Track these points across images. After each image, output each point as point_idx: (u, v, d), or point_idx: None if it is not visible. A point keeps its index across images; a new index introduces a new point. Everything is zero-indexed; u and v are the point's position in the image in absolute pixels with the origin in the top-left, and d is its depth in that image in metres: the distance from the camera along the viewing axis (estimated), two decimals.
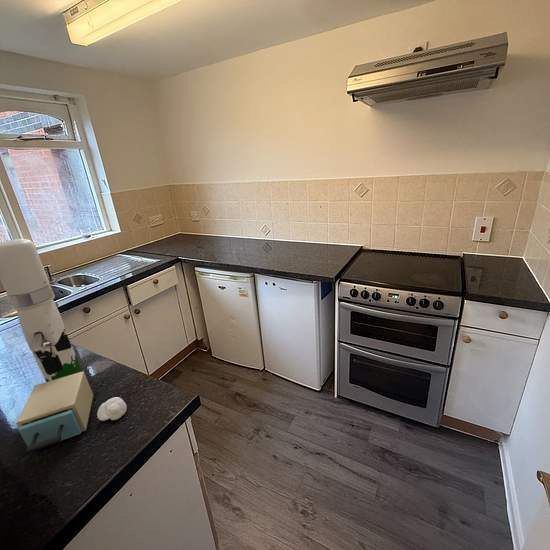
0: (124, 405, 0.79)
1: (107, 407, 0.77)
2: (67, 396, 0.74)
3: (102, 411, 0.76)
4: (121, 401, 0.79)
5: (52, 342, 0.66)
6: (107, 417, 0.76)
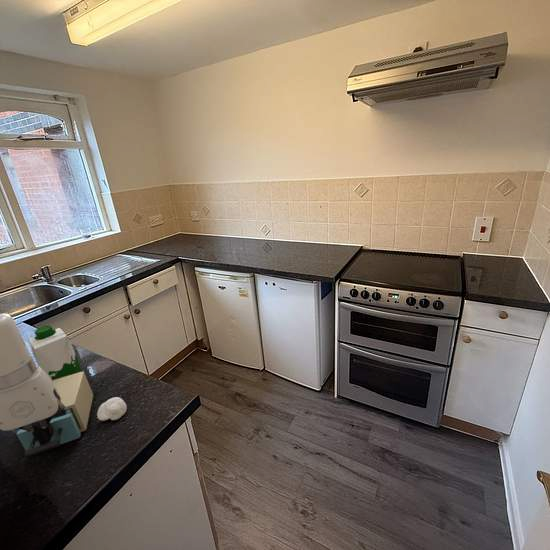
0: (124, 405, 0.79)
1: (107, 407, 0.77)
2: (67, 396, 0.74)
3: (102, 411, 0.76)
4: (121, 401, 0.79)
5: None
6: (107, 417, 0.76)
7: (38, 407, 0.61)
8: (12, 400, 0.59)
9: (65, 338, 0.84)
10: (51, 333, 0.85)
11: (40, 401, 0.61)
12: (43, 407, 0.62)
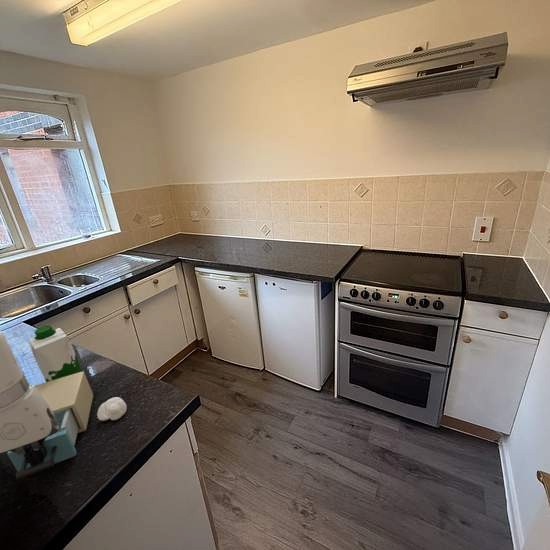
0: (124, 405, 0.79)
1: (107, 407, 0.77)
2: (67, 396, 0.74)
3: (102, 411, 0.76)
4: (121, 401, 0.79)
5: None
6: (107, 417, 0.76)
7: (30, 429, 0.57)
8: (1, 422, 0.55)
9: (65, 338, 0.84)
10: (51, 333, 0.85)
11: (32, 422, 0.57)
12: (35, 428, 0.57)
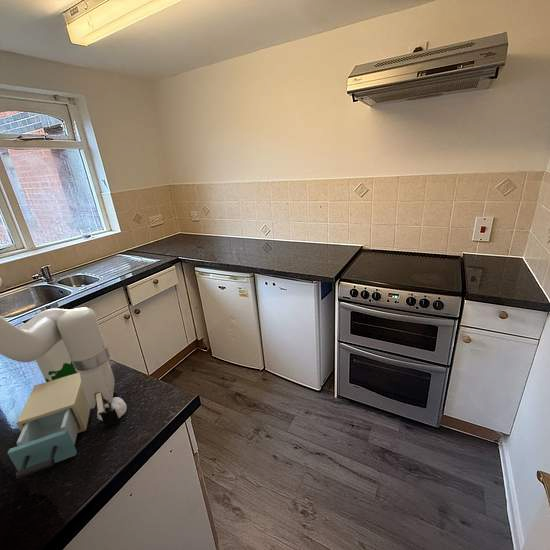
0: (124, 405, 0.79)
1: None
2: (67, 396, 0.74)
3: None
4: (121, 401, 0.79)
5: (109, 400, 0.72)
6: None
7: None
8: None
9: None
10: None
11: None
12: None
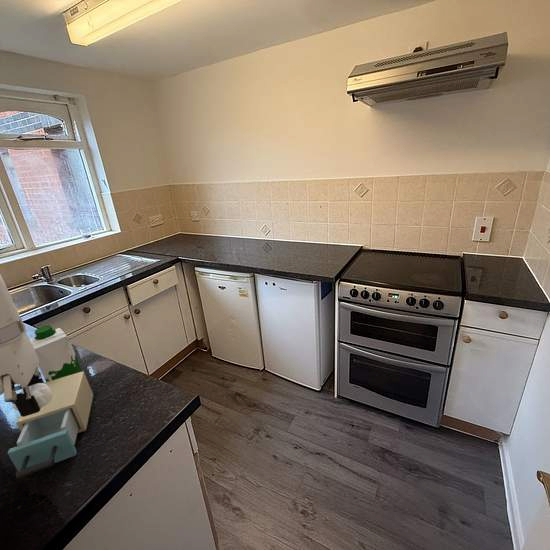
0: (49, 393, 0.65)
1: None
2: (67, 396, 0.74)
3: None
4: (45, 388, 0.65)
5: (22, 384, 0.58)
6: None
7: None
8: None
9: (65, 338, 0.84)
10: (51, 333, 0.85)
11: None
12: None
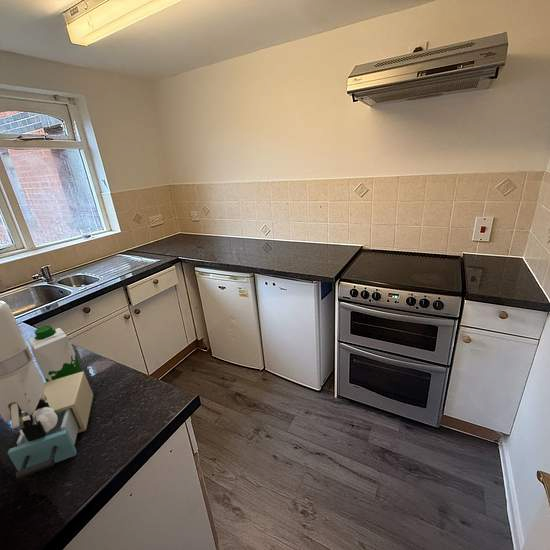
0: (54, 417, 0.67)
1: None
2: (67, 396, 0.74)
3: None
4: (51, 412, 0.67)
5: (29, 412, 0.60)
6: None
7: None
8: None
9: (65, 338, 0.84)
10: (51, 333, 0.85)
11: None
12: None
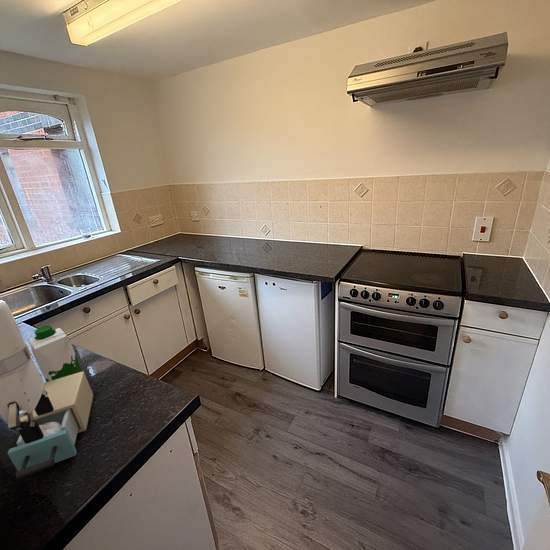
0: None
1: None
2: (67, 396, 0.74)
3: None
4: (60, 429, 0.69)
5: (28, 411, 0.60)
6: None
7: None
8: None
9: (65, 338, 0.84)
10: (51, 333, 0.85)
11: None
12: None
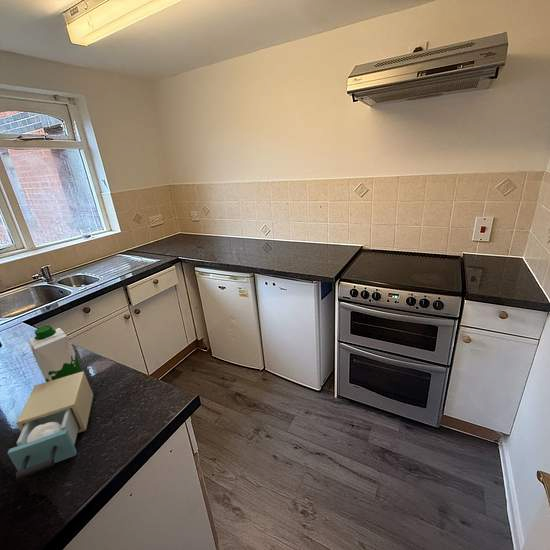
0: None
1: (42, 432, 0.67)
2: (67, 396, 0.74)
3: (35, 435, 0.66)
4: (60, 429, 0.69)
5: None
6: None
7: None
8: None
9: (65, 338, 0.84)
10: (51, 333, 0.85)
11: None
12: None
